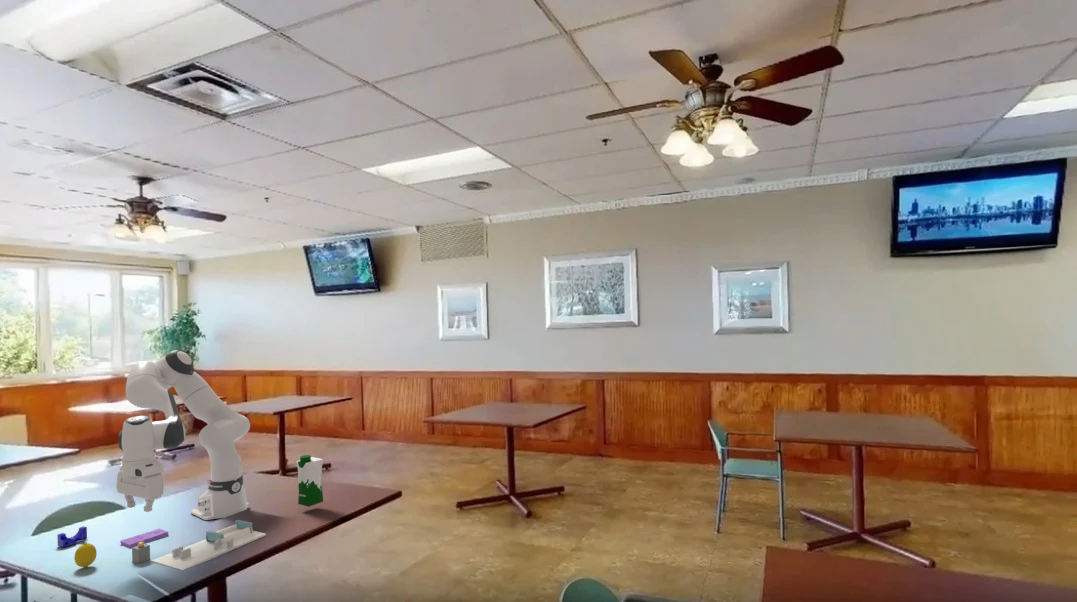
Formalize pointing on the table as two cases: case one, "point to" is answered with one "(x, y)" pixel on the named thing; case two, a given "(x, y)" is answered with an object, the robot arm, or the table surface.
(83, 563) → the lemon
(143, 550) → the block
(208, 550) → the board
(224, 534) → the end holder
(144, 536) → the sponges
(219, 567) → the table surface
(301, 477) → the milk carton
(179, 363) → the robot arm
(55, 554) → the table surface
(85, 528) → the cable holder
